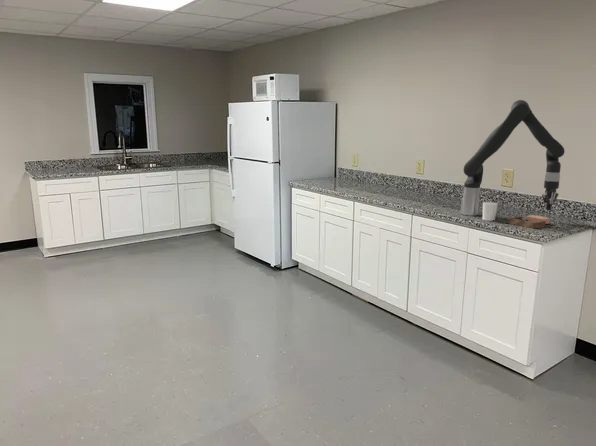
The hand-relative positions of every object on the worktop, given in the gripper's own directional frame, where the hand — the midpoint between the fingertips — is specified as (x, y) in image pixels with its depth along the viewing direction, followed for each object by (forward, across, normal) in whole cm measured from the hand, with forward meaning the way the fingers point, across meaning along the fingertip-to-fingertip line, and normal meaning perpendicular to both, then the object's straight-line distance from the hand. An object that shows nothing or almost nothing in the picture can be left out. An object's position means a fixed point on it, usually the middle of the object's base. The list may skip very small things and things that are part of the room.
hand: (548, 209), depth 268 cm
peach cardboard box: (+7, +9, 0) cm, 12 cm away
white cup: (+7, +26, -20) cm, 34 cm away
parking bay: (+7, +19, 0) cm, 20 cm away
